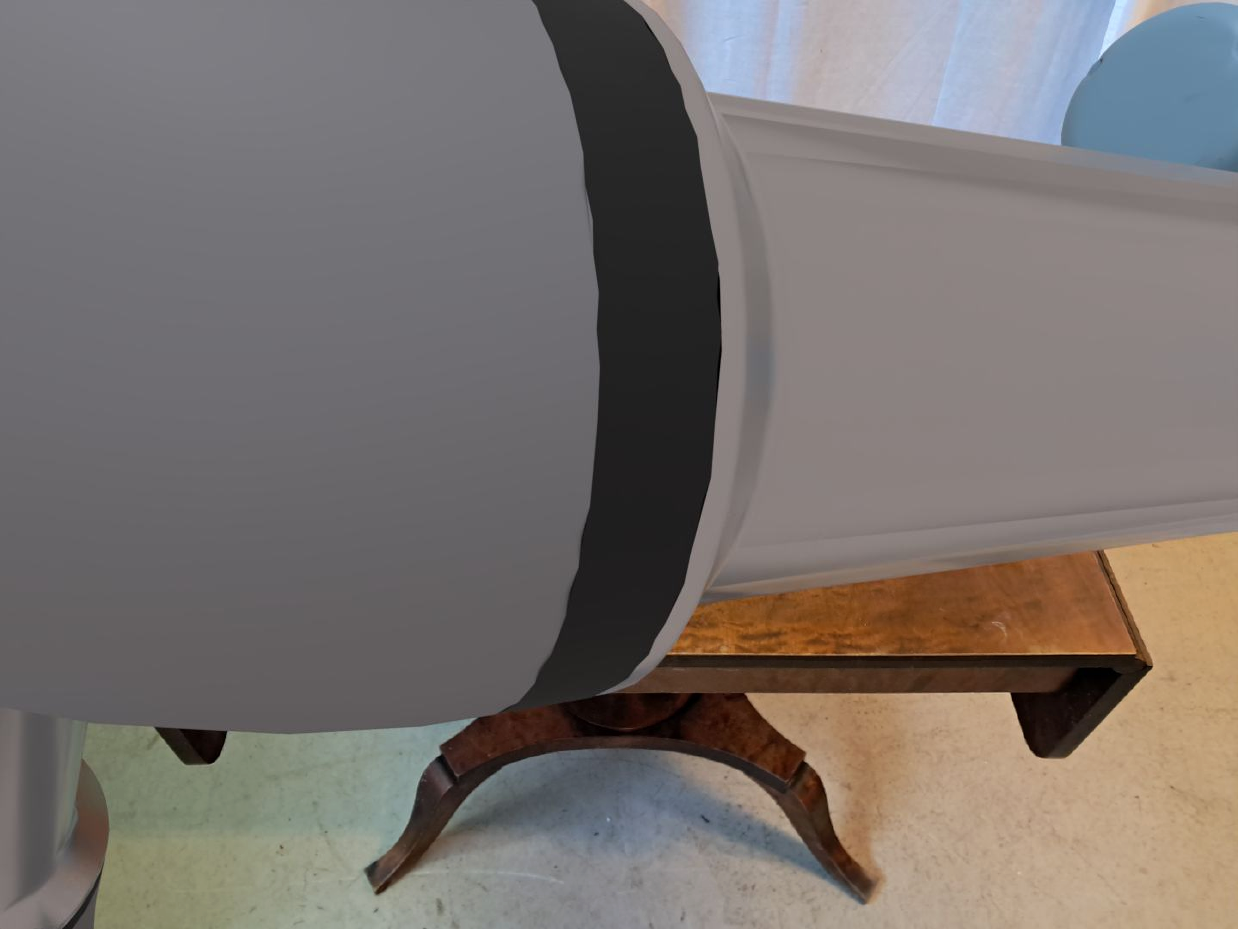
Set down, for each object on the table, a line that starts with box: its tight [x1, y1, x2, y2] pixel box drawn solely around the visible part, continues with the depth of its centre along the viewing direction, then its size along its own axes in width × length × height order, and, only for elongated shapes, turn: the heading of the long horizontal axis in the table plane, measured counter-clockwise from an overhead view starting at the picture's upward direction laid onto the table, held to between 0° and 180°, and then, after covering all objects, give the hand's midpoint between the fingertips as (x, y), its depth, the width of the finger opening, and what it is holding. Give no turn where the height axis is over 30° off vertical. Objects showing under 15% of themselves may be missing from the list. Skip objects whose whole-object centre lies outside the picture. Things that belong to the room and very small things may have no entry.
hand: (790, 424), depth 65 cm, fingers open, 13 cm apart
